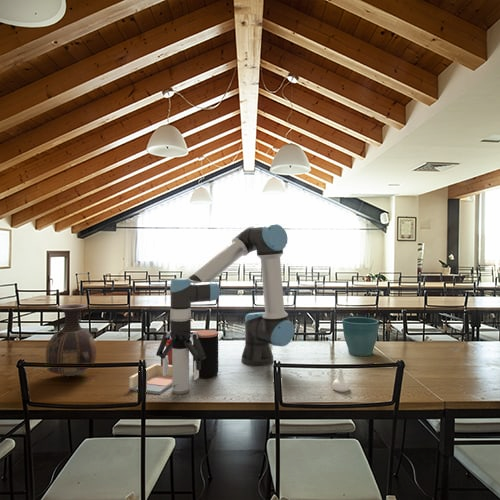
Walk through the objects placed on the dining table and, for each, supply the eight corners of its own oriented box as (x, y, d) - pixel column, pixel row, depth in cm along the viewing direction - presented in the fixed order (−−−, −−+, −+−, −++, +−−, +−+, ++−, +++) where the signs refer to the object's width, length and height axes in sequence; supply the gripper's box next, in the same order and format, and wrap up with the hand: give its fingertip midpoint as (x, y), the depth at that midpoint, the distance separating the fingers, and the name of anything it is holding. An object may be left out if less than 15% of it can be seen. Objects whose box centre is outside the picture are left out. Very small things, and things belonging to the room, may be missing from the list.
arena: (183, 378, 157) (183, 366, 157) (159, 394, 140) (159, 380, 140) (155, 375, 161) (155, 363, 161) (129, 390, 144) (129, 377, 144)
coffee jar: (223, 373, 163) (223, 331, 163) (208, 380, 154) (208, 336, 154) (203, 369, 169) (203, 329, 169) (187, 376, 160) (187, 333, 160)
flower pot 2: (340, 356, 189) (340, 322, 189) (343, 347, 206) (343, 316, 206) (378, 359, 183) (378, 324, 183) (378, 350, 200) (378, 318, 200)
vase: (39, 375, 161) (39, 304, 161) (87, 366, 174) (87, 300, 174) (53, 390, 144) (52, 311, 144) (104, 379, 156) (104, 306, 156)
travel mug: (173, 395, 139) (173, 340, 139) (171, 389, 145) (171, 336, 145) (190, 393, 141) (190, 339, 141) (188, 387, 147) (187, 335, 147)
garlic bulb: (330, 388, 148) (328, 367, 148) (346, 386, 148) (344, 365, 148) (335, 394, 142) (333, 372, 142) (352, 392, 142) (350, 370, 142)
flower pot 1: (183, 365, 174) (183, 344, 174) (161, 364, 176) (161, 343, 176) (191, 359, 185) (191, 339, 185) (170, 358, 187) (170, 338, 187)
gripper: (214, 319, 143) (214, 376, 143) (157, 315, 150) (157, 370, 150) (206, 323, 135) (206, 383, 135) (146, 319, 143) (146, 376, 143)
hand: (180, 376), depth 143 cm, fingers open, 12 cm apart
